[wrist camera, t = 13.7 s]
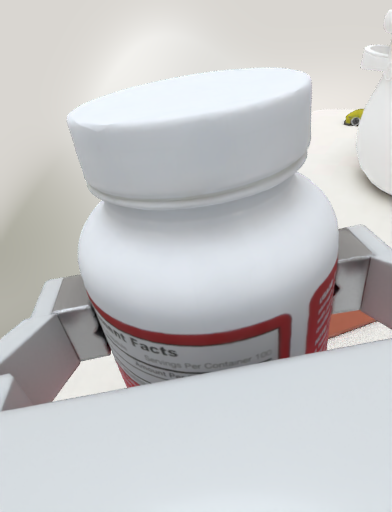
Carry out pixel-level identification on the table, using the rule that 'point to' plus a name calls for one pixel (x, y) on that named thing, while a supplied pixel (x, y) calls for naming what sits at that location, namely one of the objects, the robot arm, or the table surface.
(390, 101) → the pot
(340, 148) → the table surface
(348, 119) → the toy car
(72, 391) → the table surface
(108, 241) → the pill bottle
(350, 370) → the robot arm
